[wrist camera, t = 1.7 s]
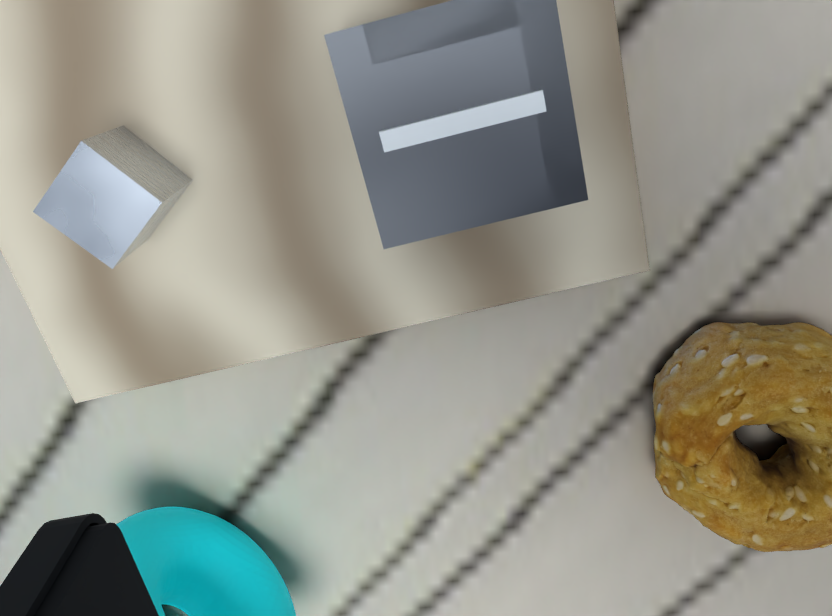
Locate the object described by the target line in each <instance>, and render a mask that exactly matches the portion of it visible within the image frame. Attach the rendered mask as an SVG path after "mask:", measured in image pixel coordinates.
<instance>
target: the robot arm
mask: <svg viewBox="0 0 832 616" xmlns="http://www.w3.org/2000/svg"><path fill="white" fill-rule="evenodd" d="M0 616H159V615H158V613H157V610H156V608H155V606H154V604H153V601H152V599H151V597H150V595H149V592H148V590H147V588H146V586H145V583H144V581H143V579H142V577H141V574H140V572H139V570H138V568H137V565H136V563H135V561H134V559H133V556H132V554H131V552H130V550H129V547H128V545H127V543H126V541H125V538H124V536H123V534H122V532H121V530H120V528H119V527H118V526H117V525H116V524H115V523H106V521H105V519H104V518H103V517H101V516H100V515H99V514H94V513H92V514H86V515H81V516H75V517H69V518H63V519H57V520H51V521H49V522H46V523H44V524H43V526H42V527H41V528H40V529H39V530H38V531H37V533H36V534H35V536H34V537H33V539H32V540H31V542H30V543H29V545H28V546H27V548H26V549H25V551H24V552H23V554H22V555H21V556H20V558H19V559H18V561H17V562H16V564H15V565H14V567H13V568H12V570H11V571H10V573H9V574H8V576H7V577H6V579H5V580H4V582H3V583H2V584H1V586H0Z"/></svg>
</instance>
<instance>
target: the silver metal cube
mask: <svg viewBox="0 0 832 616" xmlns="http://www.w3.org/2000/svg"><path fill="white" fill-rule="evenodd" d="M192 181H193V180H192V179H191V178H190V177H189V176H187V175H186V174H185V173H183V172H182V171H181V170H180V169H178V168H177V167H176V166H175V165H173V164H172V163H171V162H169V161H168V160H167V159H166V158H164V157H163V156H162V155H160V154H159V153H158V152H157V151H155V150H154V149H153V148H152V147H150V146H149V145H148V144H146V143H145V142H144V141H143V140H141V139H140V138H139V137H137V136H136V135H135V134H134V133H132V132H131V131H130V130H129V129H127V128H126V127H125V126H120V127H118V128H115V129H112V130H109V131H107V132H104V133H101V134H98V135H96V136H93V137H90V138H88V139H85V140H82V141H81V142H80V143H79V145H78V146H77V148H76V149H75V151H74V152H73V154H72V155H71V156H70V158H69V159H68V161H67V162H66V164H65V165H64V167H63V168H62V170H61V171H60V173H59V174H58V175H57V177H56V178H55V180H54V181H53V183H52V184H51V186H50V187H49V189H48V190H47V192H46V193H45V194H44V196H43V197H42V199H41V200H40V202H39V203H38V205H37V206H36V208H35V209H34V211H33V212H34V213H35V214H37V215H38V216H39V217H41V218H42V219H44V220H45V221H46V222H48V223H49V224H50V225H52V226H53V227H55V228H56V229H57V230H59V231H60V232H62V233H63V234H64V235H66V236H67V237H69V238H70V239H71V240H73V241H74V242H75V243H77V244H78V245H80V246H81V247H82V248H84V249H85V250H87V251H88V252H89V253H91V254H92V255H93V256H95V257H96V258H98V259H99V260H100V261H102V262H103V263H105V264H106V265H107V266H109V267H110V268H112V269H113V268H114V267H115V266H117V265H118V264H119V263H120V262H121V261H123V260H124V259H125V258H126V257H127V256H129V255H130V254H131V253H132V252H133V251H135V250H136V249H137V248H138V247H140V246H141V245H142V244H143V243H144V242H146V241H147V240H148V239H149V238H150V236H151V235H152V234H153V232H154V231H155V230H156V228H157V227H158V226H159V224H160V223H161V222H162V220H163V219H164V218H165V216H166V215H167V214H168V212H169V211H170V210H171V208H172V207H173V206H174V205H175V203H176V202H177V201H178V199H179V198H180V197H181V195H182V194H183V193H184V191H185V190H186V189H187V187H188V186H189V185H190V183H191V182H192Z"/></svg>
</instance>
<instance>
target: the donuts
mask: <svg viewBox="0 0 832 616" xmlns="http://www.w3.org/2000/svg"><path fill="white" fill-rule="evenodd" d="M116 525H117V526H118V527H119V528H120V530H121V532H122V534H123V536H124V538H125V541H126V543H127V545H128V547H129V550H130V552H131V554H132V556H133V559H134V561H135V563H136V565H137V568H138V570H139V572H140V574H141V577H142V579H143V581H144V583H145V586H146V588H147V590H148V592H149V595H150V597H151V599H152V601H153V604H154V606H155V608H156V610H157V613H158V615H159V616H165V613H164V611H163V608H162V605H161V604H166V605H171V606H175V607H177V608H179V609H180V610H182V611H183V612H185V613H186V614H187V615H188V616H296V613H295V610H294V606H293V602H292V599H291V597H290V594H289V591H288V589H287V587H286V585H285V582H284V580H283V579H282V577H281V575H280V573H279V572H278V570H277V568H276V567H275V565H274V564H273V562H272V561H271V560H270V558H269V557H268V556H267V555H266V553H265V552H264V551H263V550H262V549H261V548H260V547H259V546H258V545H257V544H256V543H255V542H254V541H253V540H252V539H251V538H250V537H249V536H248V535H246V534H245V533H244V532H243V531H241V530H240V529H238V528H237V527H235V526H234V525H232V524H231V523H229V522H227V521H225V520H224V519H221V518H219V517H217V516H215V515H212V514H210V513H206V512H203V511H200V510H197V509H192V508H186V507H175V506H173V507H159V508H153V509H149V510H145V511H142V512H139V513H136V514H134V515H132V516H130V517H128V518H126V519H124V520H123V521H121V522H119V523H118V524H116Z"/></svg>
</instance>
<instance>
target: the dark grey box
mask: <svg viewBox="0 0 832 616" xmlns="http://www.w3.org/2000/svg"><path fill="white" fill-rule="evenodd" d="M324 37H325V40H326V44H327V47H328V51H329V55H330V58H331V62H332V65H333V69H334V73H335V76H336V80H337V83H338V87H339V91H340V94H341V98H342V101H343V105H344V109H345V112H346V116H347V119H348V123H349V126H350V130H351V134H352V137H353V141H354V144H355V148H356V152H357V155H358V159H359V162H360V166H361V170H362V173H363V177H364V180H365V184H366V187H367V191H368V195H369V198H370V202H371V205H372V209H373V213H374V216H375V220H376V223H377V227H378V231H379V234H380V238H381V241H382V245H383V249H387V248H392V247H396V246H400V245H404V244H408V243H412V242H416V241H421V240H425V239H429V238H433V237H437V236H441V235H445V234H450V233H454V232H458V231H462V230H466V229H470V228H474V227H479V226H483V225H487V224H491V223H495V222H499V221H503V220H507V219H512V218H516V217H520V216H524V215H528V214H532V213H536V212H541V211H545V210H549V209H553V208H557V207H561V206H565V205H570V204H574V203H578V202H582V201H586V200H588V194H587V188H586V182H585V175H584V169H583V163H582V157H581V151H580V144H579V138H578V132H577V126H576V120H575V114H574V107H573V101H572V95H571V89H570V83H569V76H568V70H567V64H566V58H565V52H564V46H563V39H562V33H561V27H560V21H559V15H558V8H557V2H556V0H451V1H447V2H444V3H440V4H436V5H433V6H429V7H425V8H421V9H418V10H414V11H410V12H407V13H403V14H399V15H396V16H392V17H388V18H384V19H381V20H377V21H373V22H370V23H366V24H362V25H359V26H355V27H351V28H348V29H344V30H340V31H336V32H333V33H329V34H325V35H324Z"/></svg>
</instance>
